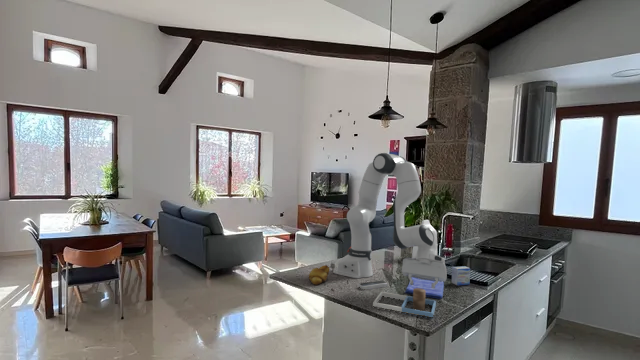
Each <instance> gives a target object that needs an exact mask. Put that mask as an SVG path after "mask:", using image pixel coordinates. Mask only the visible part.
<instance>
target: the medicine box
mask: <svg viewBox="0 0 640 360" xmlns="http://www.w3.org/2000/svg"><path fill="white" fill-rule="evenodd" d="M470 280H471V268H470V267H468V266H465V265H464V266H463V265H462V266H452V267H451V283H452V284H453V285H456V286H468V285H470Z"/></svg>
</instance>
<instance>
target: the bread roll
mask: <svg viewBox="0 0 640 360" xmlns="http://www.w3.org/2000/svg"><path fill="white" fill-rule="evenodd" d="M329 272H330V267H329V265H326V264H325V265H322V266H320V267H315V268H312V269H311V271H310V272H309V274H308V279H309V281H310V282H311V283H312V284H313V285H320V284H322V283H324V282H326V281H327V279H328V275H329Z"/></svg>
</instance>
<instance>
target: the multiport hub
mask: <svg viewBox="0 0 640 360" xmlns="http://www.w3.org/2000/svg"><path fill="white" fill-rule="evenodd" d="M359 287H360V288H361V289H360V288H359ZM387 287H388V282H387V281H386V280H383V279H382V280H377V281H368V282H361V283H360V282H359V283H358V288H359V289H360V290H362V289H368V290H373V288H375V289H381V288H387Z"/></svg>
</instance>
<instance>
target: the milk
mask: <svg viewBox="0 0 640 360" xmlns="http://www.w3.org/2000/svg"><path fill="white" fill-rule="evenodd" d="M430 222H431V221H430V219H424V220H423V219H422V221H421V224H420V225H425V226H426V227H428V228H429V229H432V230H434V231H435V233H436V237H437V238H438V232H437V230H436V229H435V228H434V227H433V226H432V225H431V223H430ZM417 250H418V246H414V247H412V251H411V253H412V255H411V258H416V255H417ZM435 254H436V255H437V256H438V246H437V247H436V251H435Z"/></svg>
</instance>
